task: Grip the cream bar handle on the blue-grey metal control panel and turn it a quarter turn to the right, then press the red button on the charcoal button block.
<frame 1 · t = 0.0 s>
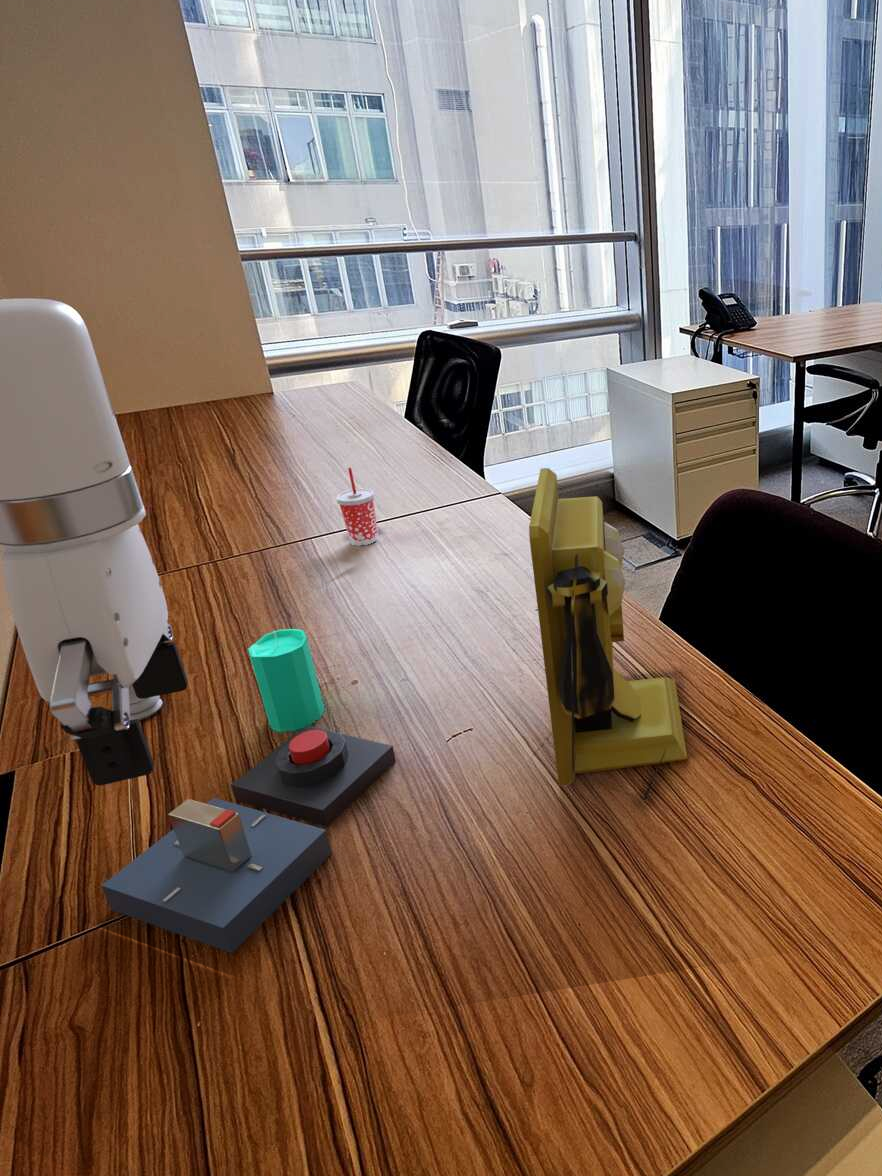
hand: (146, 731, 54), 24 cm above the table, tool pointing down, fingers open, 9 cm apart
beverage cup: (364, 541, 141), on the table
rook chess piece: (142, 713, 95), on the table
handle: (210, 834, 70), point 6 cm above the table, hinge at 0.0°
button block: (318, 780, 84), on the table
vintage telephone: (622, 734, 91), on the table
candle: (297, 717, 94), on the table
control panel: (226, 880, 72), on the table
button: (309, 747, 82), point 4 cm above the table, slide at 0.1 cm
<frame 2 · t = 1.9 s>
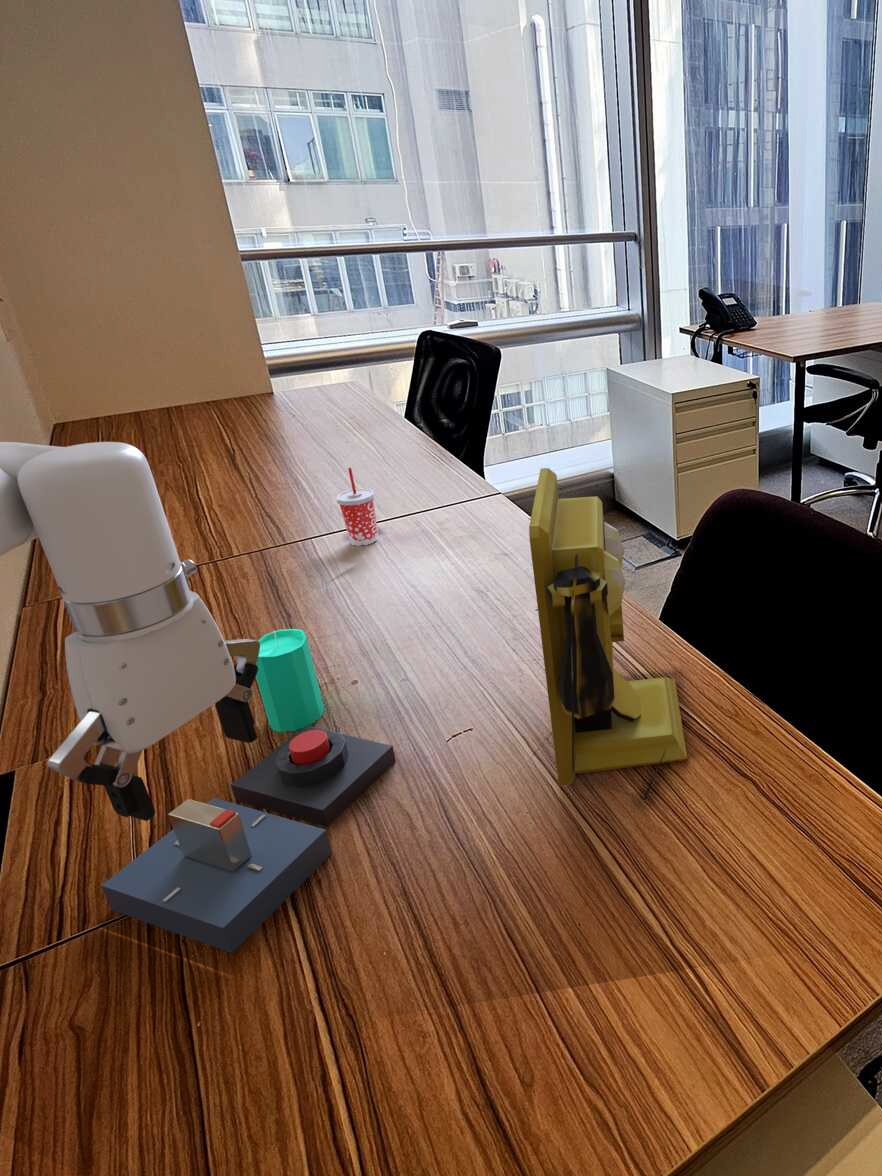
hand: (193, 774, 67), 12 cm above the table, tool pointing down, fingers open, 9 cm apart
nothing on the table moved.
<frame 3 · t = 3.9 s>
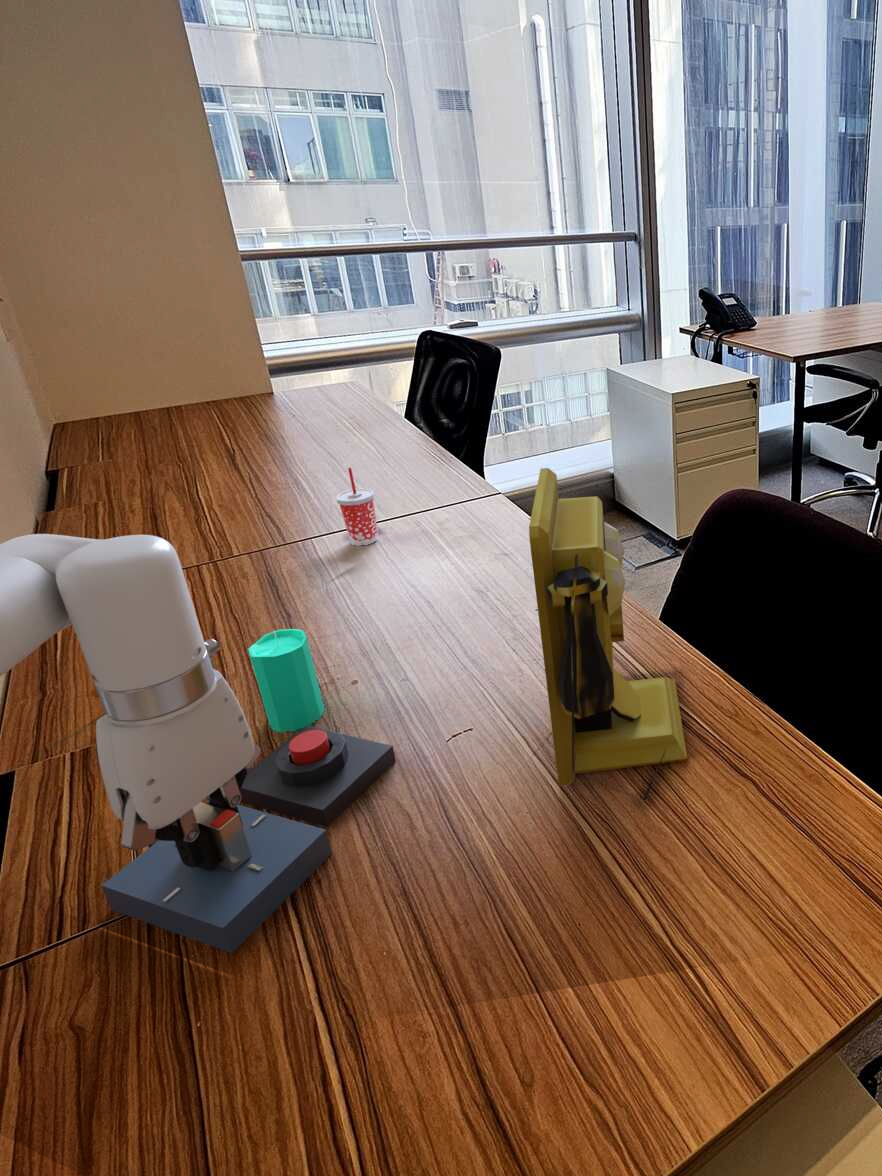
hand: (216, 851, 70), 4 cm above the table, tool pointing down, fingers closed on handle, 2 cm apart
handle: (210, 834, 70), point 6 cm above the table, hinge at 0.0°, touching gripper
everything else where it was.
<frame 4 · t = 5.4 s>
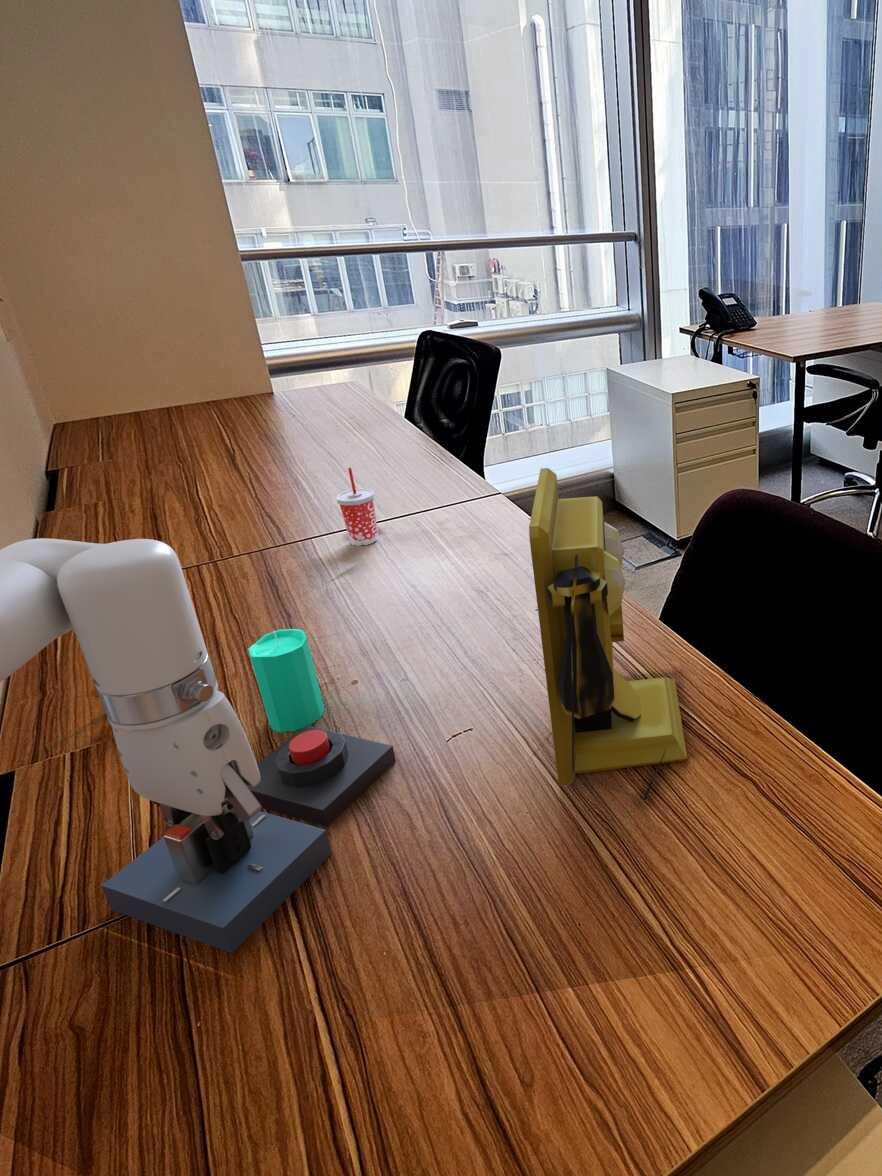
hand: (217, 854, 70), 3 cm above the table, tool pointing down, fingers open, 3 cm apart
handle: (210, 834, 70), point 6 cm above the table, hinge at -89.9°
everything else where it was.
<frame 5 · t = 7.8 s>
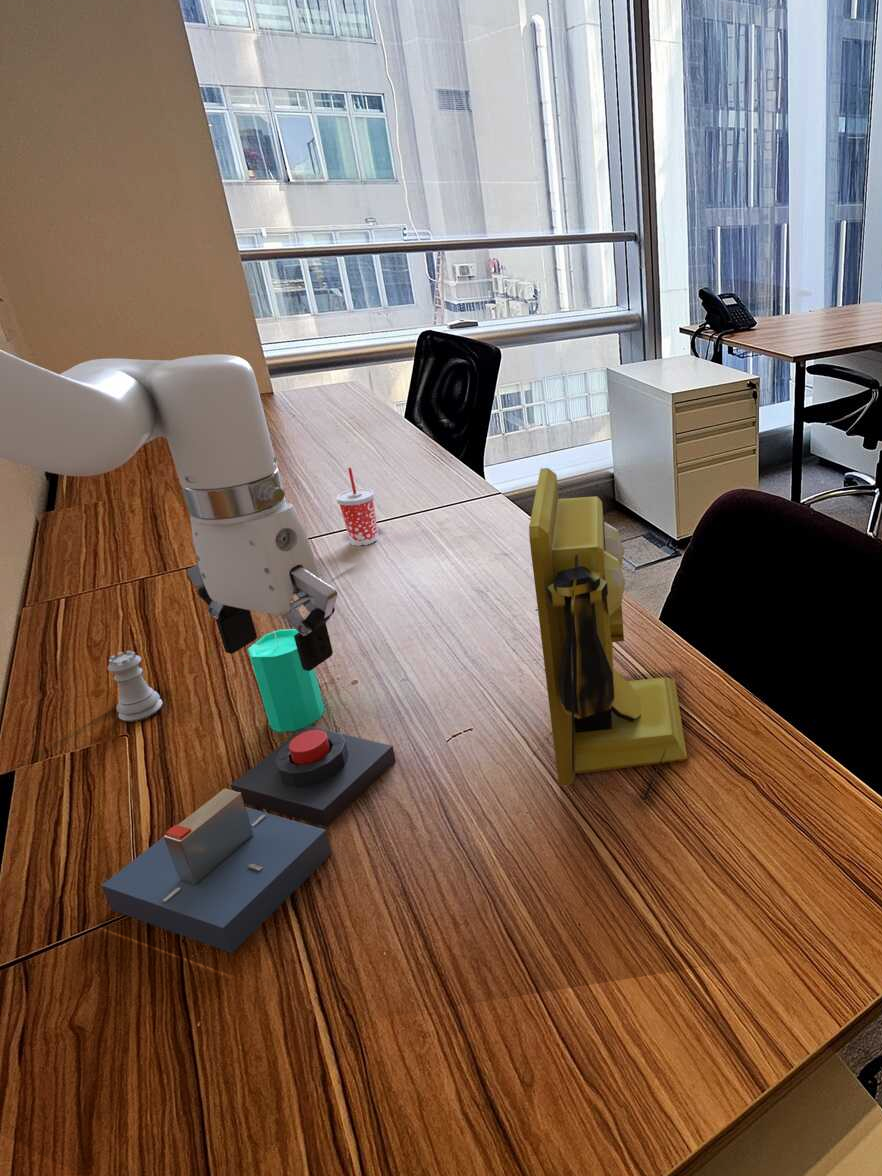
hand: (279, 654, 77), 17 cm above the table, tool pointing down, fingers open, 9 cm apart
nothing on the table moved.
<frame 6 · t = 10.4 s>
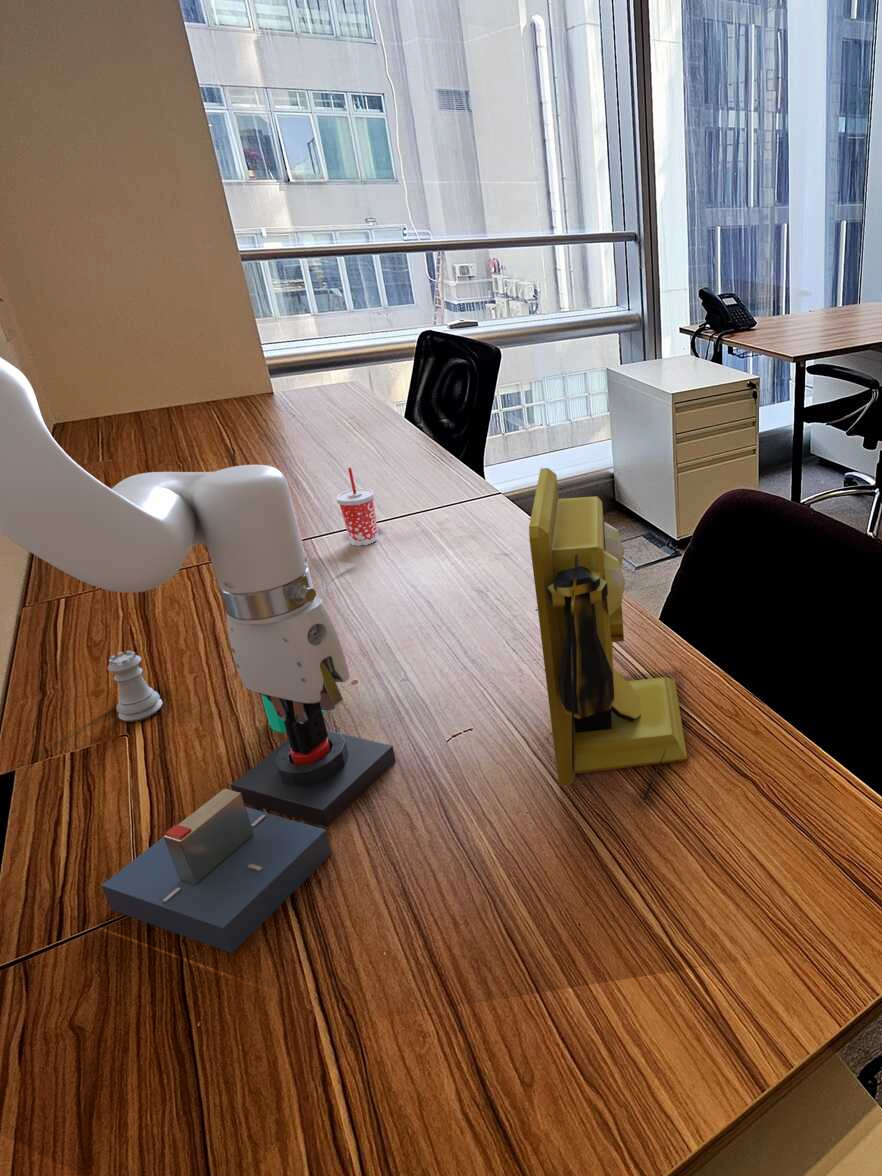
hand: (310, 744, 82), 5 cm above the table, tool pointing down, fingers closed
button: (310, 751, 82), point 4 cm above the table, slide at -0.5 cm, touching gripper
everything else where it was.
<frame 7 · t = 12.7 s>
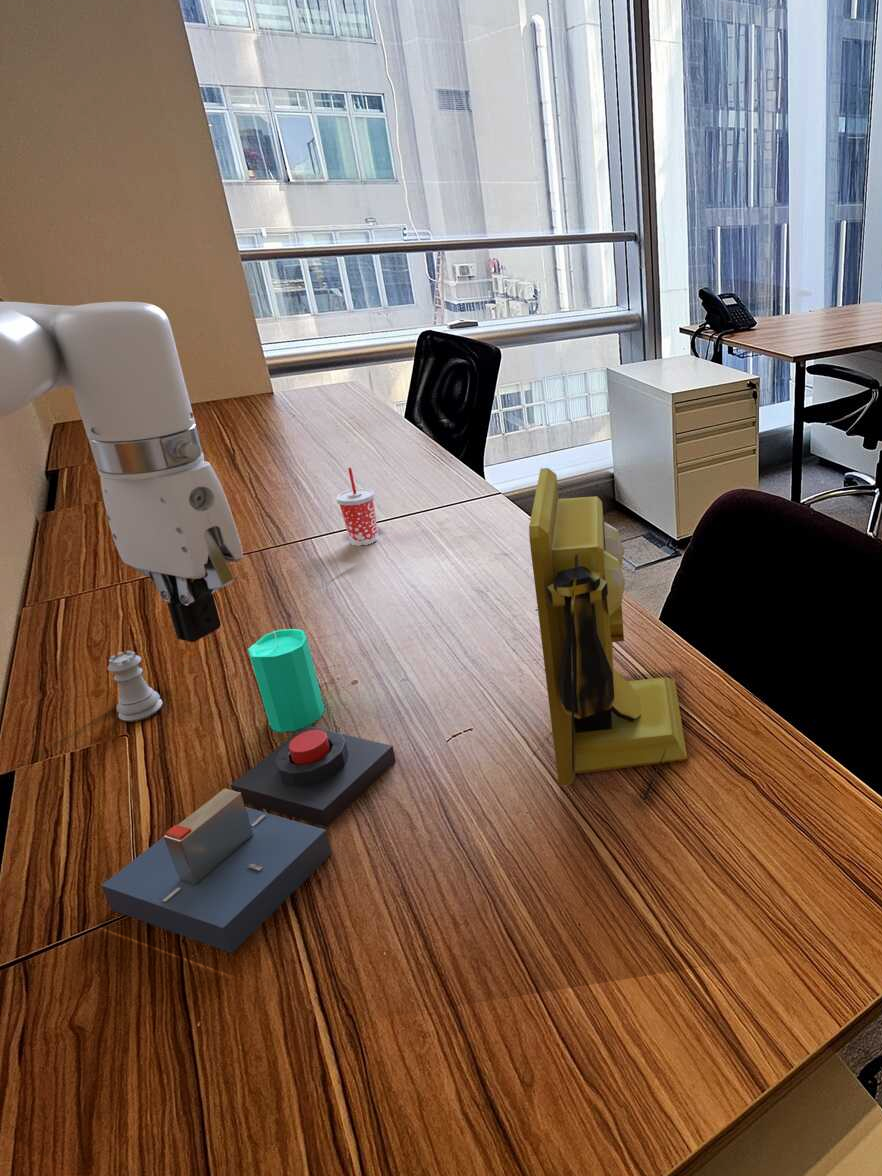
hand: (200, 633, 74), 20 cm above the table, tool pointing down, fingers closed
button: (309, 747, 82), point 4 cm above the table, slide at 0.1 cm
everything else where it was.
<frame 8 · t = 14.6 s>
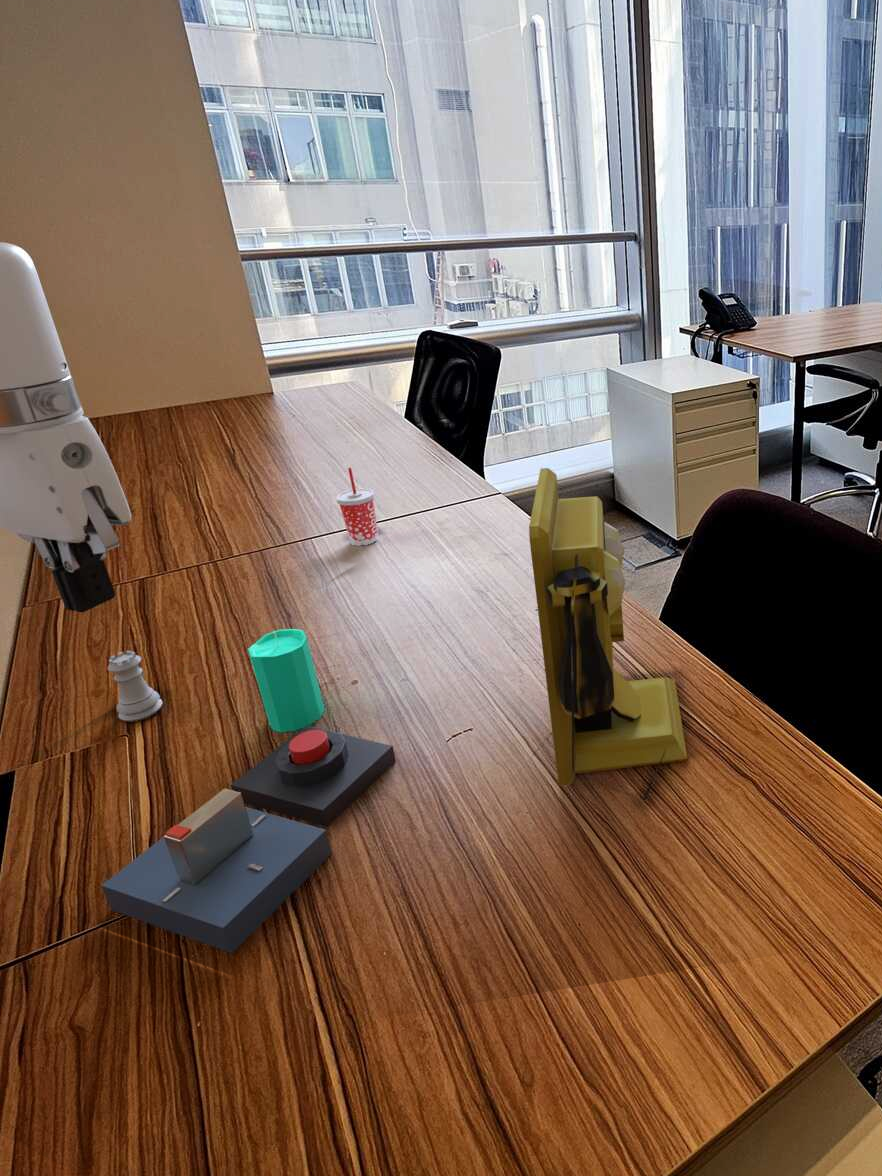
hand: (91, 603, 69), 25 cm above the table, tool pointing down, fingers closed
nothing on the table moved.
at the end: handle at -90° (first picture: +0°); button pushed in 1.1 cm at the most during the clip, back to where it started at the end; button slide at 0.1 cm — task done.
